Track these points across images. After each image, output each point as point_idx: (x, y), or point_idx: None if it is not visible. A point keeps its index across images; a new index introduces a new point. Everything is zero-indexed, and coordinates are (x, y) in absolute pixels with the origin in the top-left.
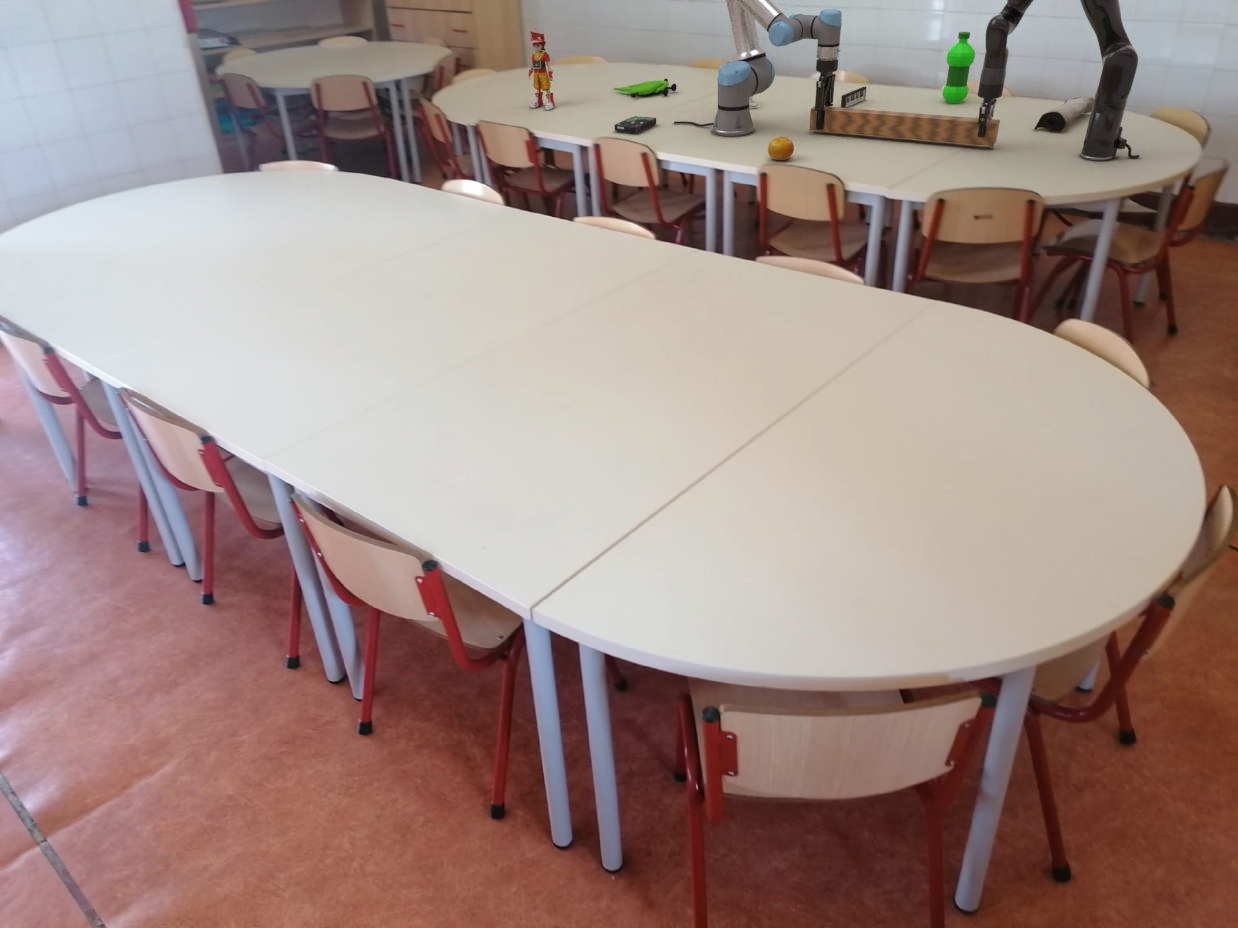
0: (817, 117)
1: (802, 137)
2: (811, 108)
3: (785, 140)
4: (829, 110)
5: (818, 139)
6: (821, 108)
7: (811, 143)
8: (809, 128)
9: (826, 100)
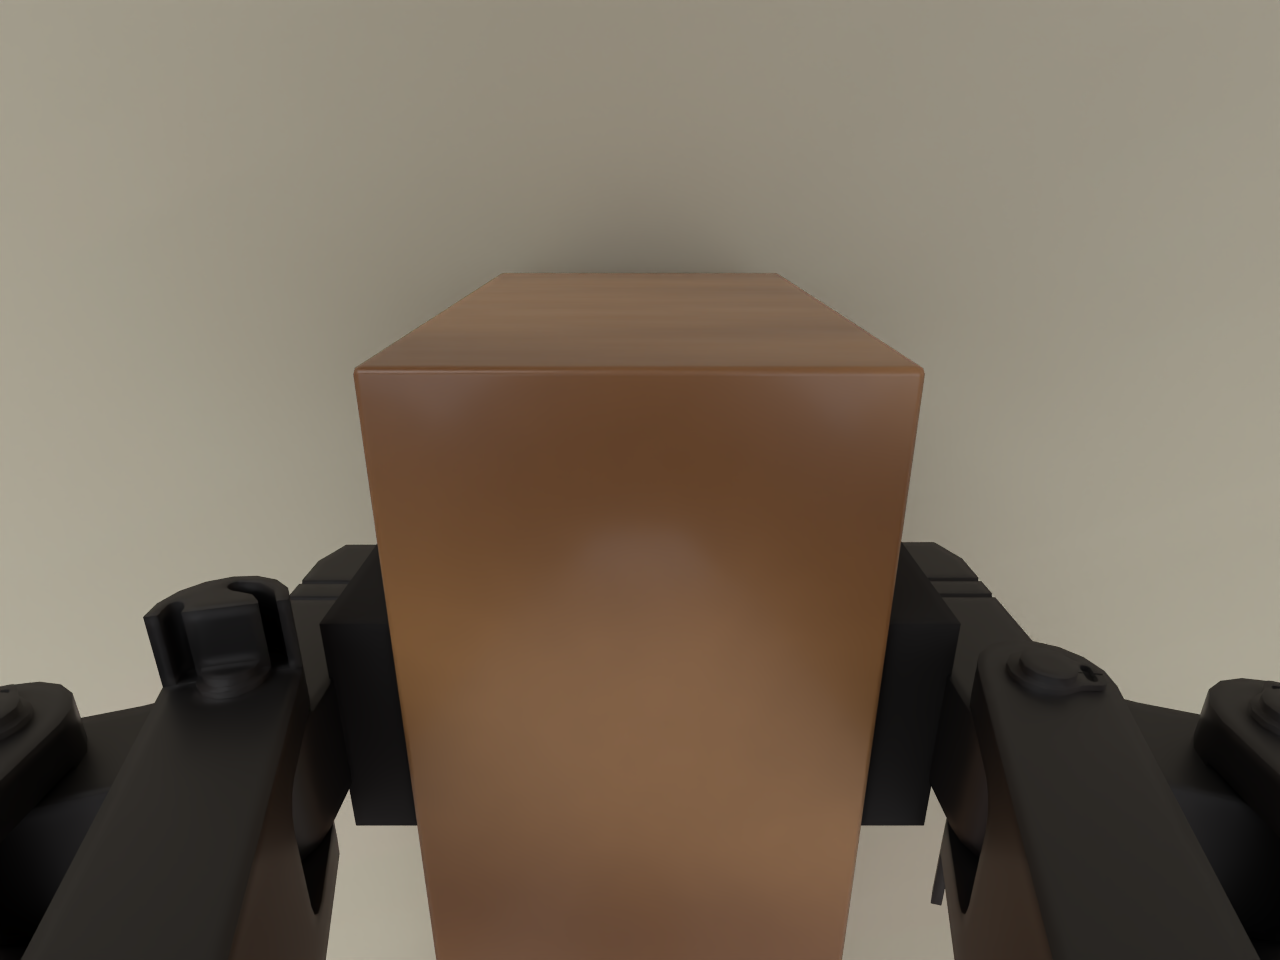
0: (302, 589)
1: (253, 230)
2: (416, 379)
3: None
4: (438, 943)
5: (281, 527)
6: (13, 943)
7: (21, 505)
8: (497, 277)
9: (995, 902)
